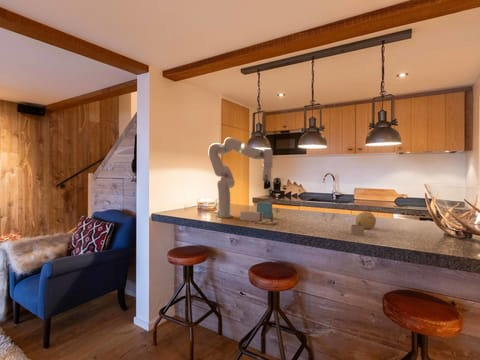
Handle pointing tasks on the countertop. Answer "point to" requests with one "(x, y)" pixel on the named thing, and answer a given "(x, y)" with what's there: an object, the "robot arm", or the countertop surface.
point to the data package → (265, 209)
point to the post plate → (266, 221)
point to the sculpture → (366, 220)
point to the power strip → (250, 216)
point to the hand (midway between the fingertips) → (267, 188)
